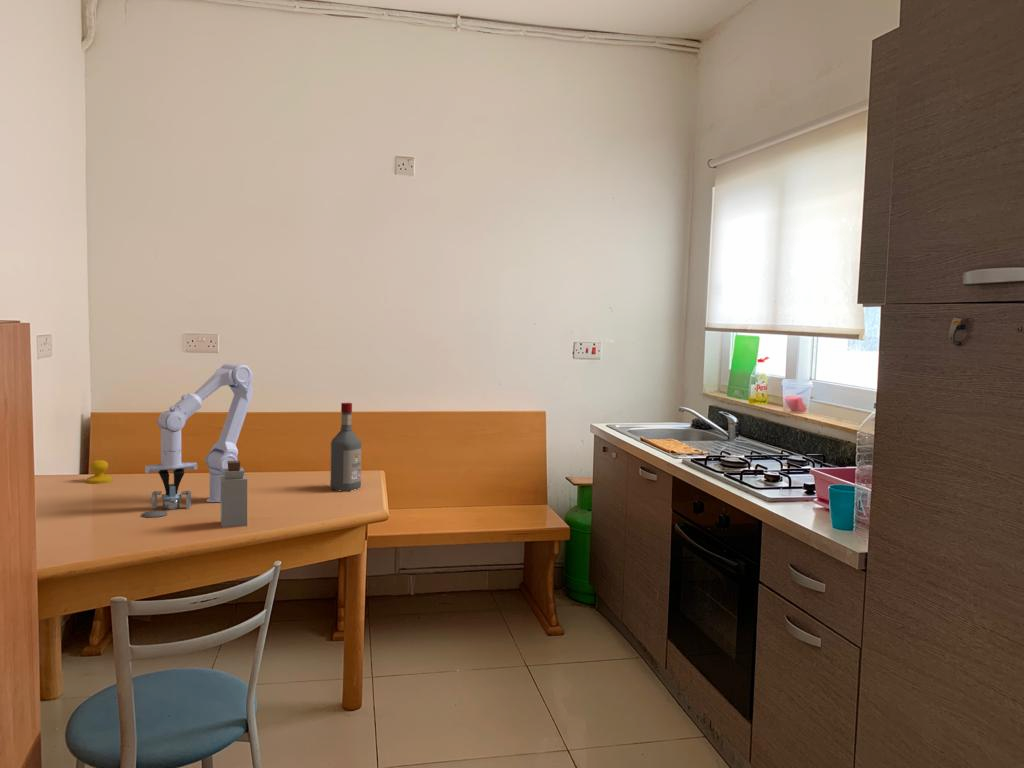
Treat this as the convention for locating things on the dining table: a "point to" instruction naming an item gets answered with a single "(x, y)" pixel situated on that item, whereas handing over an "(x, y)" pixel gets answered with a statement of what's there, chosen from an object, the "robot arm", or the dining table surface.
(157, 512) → the pad
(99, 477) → the doorknob
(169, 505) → the metal ball with blocks
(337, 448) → the liquor
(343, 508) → the dining table surface
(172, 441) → the robot arm
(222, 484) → the perfume bottle
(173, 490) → the cap
